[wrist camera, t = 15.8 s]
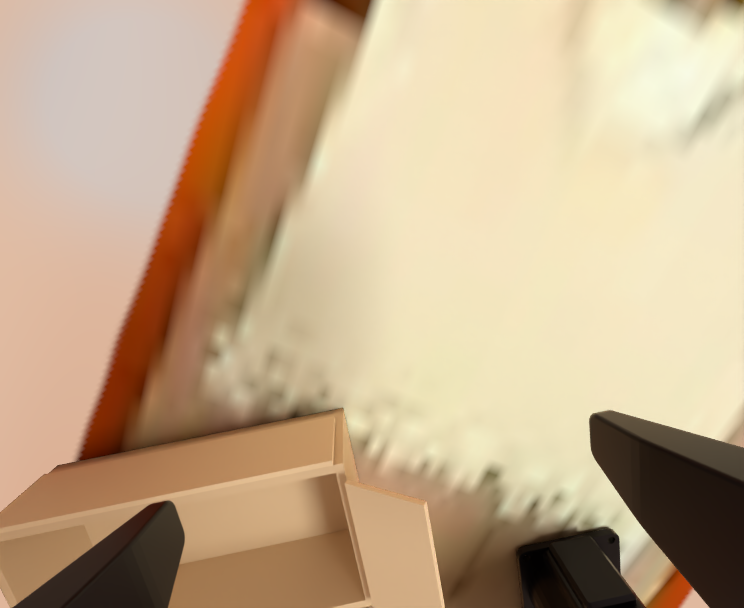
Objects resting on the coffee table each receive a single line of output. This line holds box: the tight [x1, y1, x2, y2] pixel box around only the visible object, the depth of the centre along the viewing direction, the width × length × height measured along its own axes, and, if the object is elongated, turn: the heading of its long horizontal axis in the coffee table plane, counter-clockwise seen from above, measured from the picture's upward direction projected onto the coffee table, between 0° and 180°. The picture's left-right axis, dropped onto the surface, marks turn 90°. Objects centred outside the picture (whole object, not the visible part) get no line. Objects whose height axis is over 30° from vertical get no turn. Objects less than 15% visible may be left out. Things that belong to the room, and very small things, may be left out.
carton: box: [0, 408, 372, 608], centre depth 20 cm, size 9×16×5 cm, turn 101°
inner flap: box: [345, 480, 445, 608], centre depth 17 cm, size 7×4×1 cm
